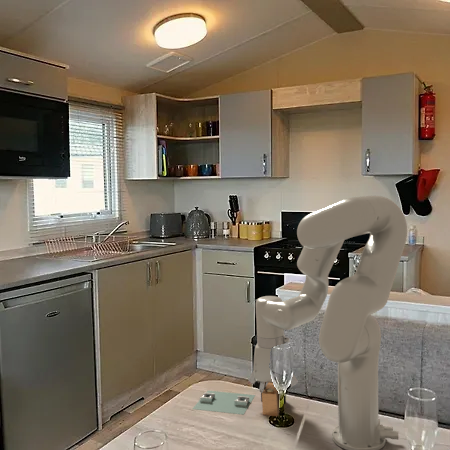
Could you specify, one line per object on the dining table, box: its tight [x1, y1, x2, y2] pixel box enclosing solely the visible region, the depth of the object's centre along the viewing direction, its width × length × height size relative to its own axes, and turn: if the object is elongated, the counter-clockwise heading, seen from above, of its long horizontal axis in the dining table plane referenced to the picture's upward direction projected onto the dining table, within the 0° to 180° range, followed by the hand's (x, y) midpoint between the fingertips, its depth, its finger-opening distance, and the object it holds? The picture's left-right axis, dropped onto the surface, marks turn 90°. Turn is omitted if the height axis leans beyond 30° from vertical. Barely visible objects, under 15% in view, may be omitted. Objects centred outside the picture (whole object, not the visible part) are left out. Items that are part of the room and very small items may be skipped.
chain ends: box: [199, 392, 250, 407], centre depth 144 cm, size 14×4×1 cm, turn 72°
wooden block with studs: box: [261, 382, 280, 417], centre depth 139 cm, size 4×10×7 cm, turn 162°
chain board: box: [192, 390, 256, 416], centre depth 144 cm, size 15×13×1 cm
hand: (273, 404), depth 139 cm, fingers closed on wooden block with studs, 4 cm apart
